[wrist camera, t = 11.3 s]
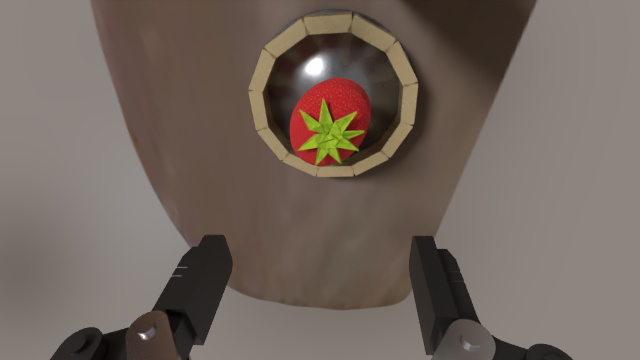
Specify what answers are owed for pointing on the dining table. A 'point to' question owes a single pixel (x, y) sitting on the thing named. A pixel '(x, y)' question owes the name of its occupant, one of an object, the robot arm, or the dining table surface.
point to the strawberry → (330, 121)
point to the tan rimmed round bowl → (335, 62)
